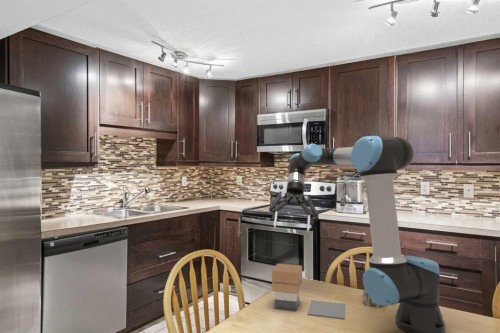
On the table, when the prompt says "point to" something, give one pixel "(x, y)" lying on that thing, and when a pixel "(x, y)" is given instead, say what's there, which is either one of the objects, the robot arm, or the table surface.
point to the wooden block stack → (287, 278)
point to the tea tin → (286, 300)
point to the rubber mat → (327, 309)
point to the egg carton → (369, 300)
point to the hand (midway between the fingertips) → (291, 229)
